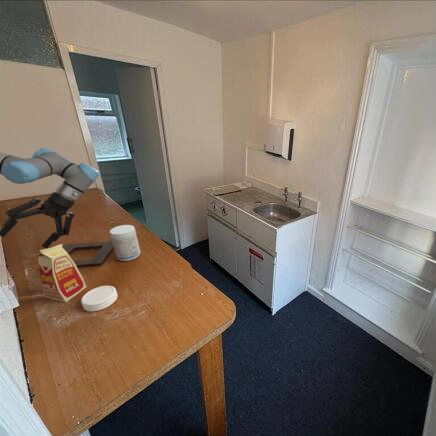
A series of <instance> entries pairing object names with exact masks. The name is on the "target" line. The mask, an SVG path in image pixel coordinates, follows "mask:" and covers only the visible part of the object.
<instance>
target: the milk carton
mask: <svg viewBox="0 0 436 436" xmlns="http://www.w3.org/2000/svg"><path fill="white" fill-rule="evenodd" d="M38 251H39V252H40V254H39V255H38V256H37V257H38V273H39V281H40V285H41V289H42V292H43V295H44V298H46V299H47V298H48V299H50V300H54V301H59V302H63V303H67V302H68V301H70V300H71V299H73V298H74V297H75V296H77V295H79V294H80V293H81V292H83V291H84V290H85V289H86V288H87V285H86V281H85V279H84V277H83V276H82V274H81V272H80V270H79V268H77V266H76V265H75V263H74V262H73V261H74V260H73V259H72V257H71V255H70V256H69V254H68V253H67V252H66V251H65V250H64V249H63V243H60V244H57V245H55V246H52V247H48V248H43V249H40V250H38Z"/></svg>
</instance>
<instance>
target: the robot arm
mask: <svg viewBox="0 0 436 436" xmlns="http://www.w3.org/2000/svg"><path fill="white" fill-rule="evenodd" d="M0 175H1V176H3V177H4V178H5V179H6V180H8V181H9V182H11V183H13V184H18V185H23V184H29V183H33V182H36V181H38V180H41V179H44V178H47V177H50V176H54V175H56V176H58V177H60V178H62V179H64V180H63V181H62V183H61V184H59V185H58V187H56V188H55V191H54V192H52V193H51V194H50V195H48V197H47V199H46V200H45V201H44V200H41V199H40V198H39V197H33V198H32V199H31V200H30V201H28V202H25V203H22V204H20V205H18V206H15V207H13V208H11V209H8V210H6V211H5V212H4V214H5V215H6V216H8V219H7V220H5V221H4V223H2V226H3V228H1V229H0V237H2V238H5V236H7V235H8V233H9V232H11V230H12V229H13V228H14V227H15V226H16V225H17V224H18V223H19V221H18V220H21V219H25V218H28V217H32V216H36V215H42V214H43V215H45V216H47V217H48V216H49V217H51V218H52V219H54V224H55V228H56V229H55V231H56V232H55V231H53V232H52V233H51V234H50V235H49V236H48V238H47V239H46V240H45V241H44V242H43V243H42V244H41V246H42V247H43V249H48V248H50V246H51V245H52V244H53V243H54V242H57V241H58V240H59V239H60V237H63V236H69V234H70V231H71V227H72V221H73V219H74V217H75V213H74V212H72V211H69V210H70V209H71V208H72V207H73V206H74V205H75V203H76V202H77V201H78V200H79V199H80V198H81V197H82V196H83V195H84V194H85V192H86V191H87V190H88V189H90V187H91V186H92V185H93V184H94V183H95V182H96V180H97V179H98V178H99V176H100V171H98V170H97V169H96V168H94V167H93V166H91V165H89V164H88V163H86V162H80V163H79V164H78V163H75V162H73V161H72V160H70V159H69V158H67V157H65V156H63V155H62V154H60V153H59V152H56V151H55V150H52V149H50V148H48V147H42V148H40V149H37V150H36V151H35V152H34V153H33V155H32V157H29V158H24V157H20V156H16V155H12V154H8V153H4V152H0ZM37 206H40V207H37ZM31 208H34V209H31ZM62 216H65V218H64V221H63V217H62Z"/></svg>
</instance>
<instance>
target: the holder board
mask: <svg viewBox="0 0 436 436" xmlns="http://www.w3.org/2000/svg"><path fill="white" fill-rule="evenodd" d="M62 248H63V249H64V250H65V251H66V252H67V253H68V254H69V256H70V257H71V255H72V254H73V253H74V252H75V251H82V250H95V249H99V250H98V251H97V252H96V254H94V255H93V257H92V258H88V259H78V260H77V259H76V260H73V262H74V263H75V265H76V266H77V268H78V269H79V268H80V269H81V268H82V269H83V268H93V267H101V266H103V265H104V264H105V262H106V261H107V259H108V258H109V257H110V255H111V254H112V253H113V251H115V249H114V246H113V243H112V240H108V241H93V242H92V241H91V242H80V243H79V242H77V243H66V244H64V246H62Z"/></svg>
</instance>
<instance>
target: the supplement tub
mask: <svg viewBox="0 0 436 436" xmlns="http://www.w3.org/2000/svg"><path fill="white" fill-rule="evenodd" d="M136 231H137V230H136V229H135V226H134V225H131V224H122V225H118V226H117V225H116V226H114V227H113V228H111V229H110V230H109V235H110V239H111V240H110V241H112V243H113V246H114V252H115V255H116V258H117V260H118V261H121V262H129V261H130V262H131V261H133V260H135V259H138V258H139V256H140V255H141V248H140V244H139V240H138V235H137V232H136Z"/></svg>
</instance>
